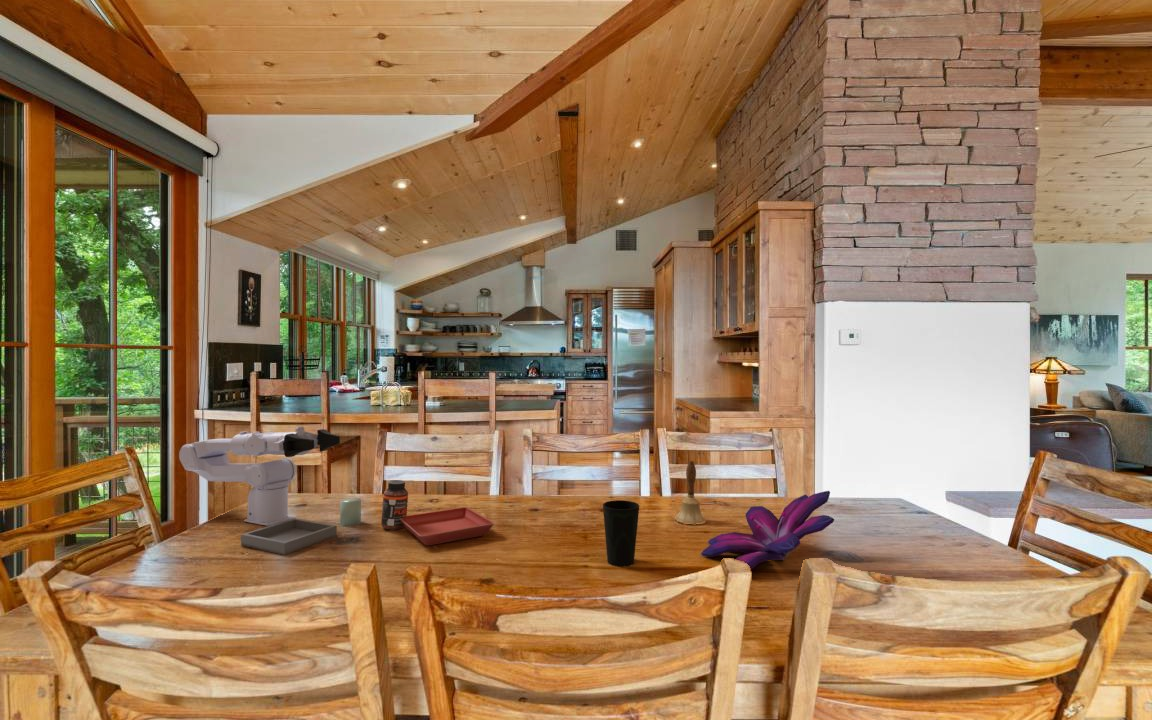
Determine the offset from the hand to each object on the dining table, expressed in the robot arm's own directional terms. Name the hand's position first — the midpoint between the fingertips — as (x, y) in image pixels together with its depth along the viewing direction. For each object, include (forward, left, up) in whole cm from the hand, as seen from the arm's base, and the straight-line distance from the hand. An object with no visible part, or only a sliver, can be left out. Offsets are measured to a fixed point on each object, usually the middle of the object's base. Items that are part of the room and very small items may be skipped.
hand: (326, 442), depth 135 cm
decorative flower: (+101, +25, -22) cm, 106 cm away
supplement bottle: (+13, +9, -22) cm, 27 cm away
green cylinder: (+1, +7, -22) cm, 23 cm away
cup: (+73, +11, -22) cm, 77 cm away
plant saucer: (+28, +11, -22) cm, 37 cm away
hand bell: (+80, +47, -22) cm, 95 cm away
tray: (-1, -9, -22) cm, 23 cm away
